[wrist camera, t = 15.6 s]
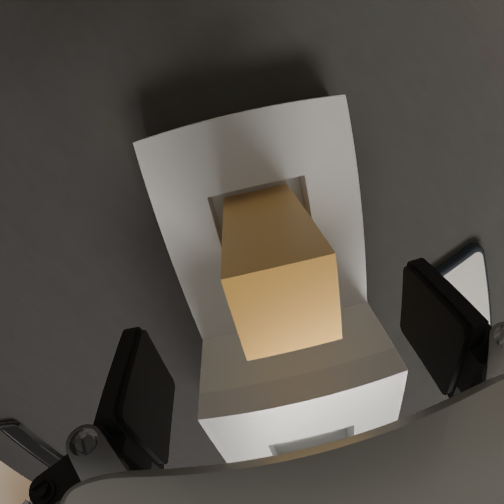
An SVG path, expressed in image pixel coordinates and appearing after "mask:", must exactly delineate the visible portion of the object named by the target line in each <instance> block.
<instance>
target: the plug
mask: <svg viewBox="0 0 504 504" xmlns="http://www.w3.org/2000/svg"><path fill="white" fill-rule="evenodd" d="M221 283H222V286H223V289H224V292H225V295H226V299H227V302H228V305H229V308H230V311H231V314H232V317H233V320H234V323H235V326H236V330H237V333H238V336H239V339H240V342H241V345H242V348H243V351H244V354H245V357H246V359H247V361H250V360H255V359H260V358H264V357H269V356H274V355H278V354H283V353H287V352H292V351H296V350H300V349H304V348H308V347H312V346H316V345H320V344H324V343H328V342H332V341H336V340H339V339H342V322H341V307H340V294H339V283H338V272H337V262H336V253H335V251H334V250H333V249H332V247H331V246H330V244H329V243H328V241H327V240H326V238H325V237H324V235H323V234H322V233H321V231H320V230H319V228H318V227H317V225H316V224H315V223H314V221H313V220H312V218H311V217H310V215H309V214H308V213H307V211H306V210H305V208H304V207H303V206H302V204H301V203H300V202H299V200H298V199H297V197H296V196H295V195H294V193H293V192H292V191H291V189H290V188H289V186H288V185H287V184H282V185H277V186H272V187H268V188H263V189H259V190H255V191H250V192H246V193H242V194H237V195H233V196H229V197H225V198H224V203H223V225H222V251H221Z"/></svg>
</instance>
